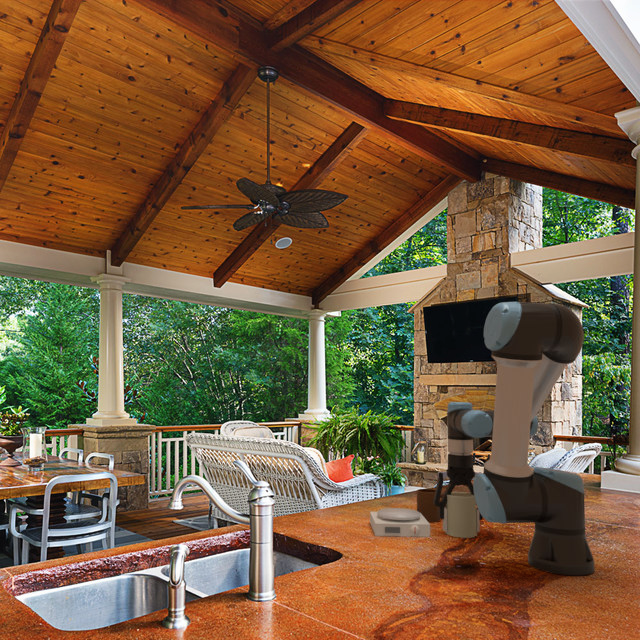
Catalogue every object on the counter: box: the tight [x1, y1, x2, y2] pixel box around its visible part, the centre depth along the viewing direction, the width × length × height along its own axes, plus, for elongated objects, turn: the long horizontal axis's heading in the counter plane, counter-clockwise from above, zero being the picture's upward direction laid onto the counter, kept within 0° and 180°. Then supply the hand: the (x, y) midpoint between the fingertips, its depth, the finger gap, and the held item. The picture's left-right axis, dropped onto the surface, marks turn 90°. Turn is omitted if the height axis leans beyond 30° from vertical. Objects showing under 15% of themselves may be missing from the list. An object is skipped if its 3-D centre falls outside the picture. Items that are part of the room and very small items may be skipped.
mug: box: [416, 488, 446, 523], centre depth 190 cm, size 12×8×9 cm, turn 98°
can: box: [444, 491, 478, 539], centre depth 172 cm, size 9×9×12 cm
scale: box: [369, 507, 431, 538], centre depth 175 cm, size 16×16×5 cm
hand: (461, 530), depth 172 cm, fingers closed on can, 9 cm apart
